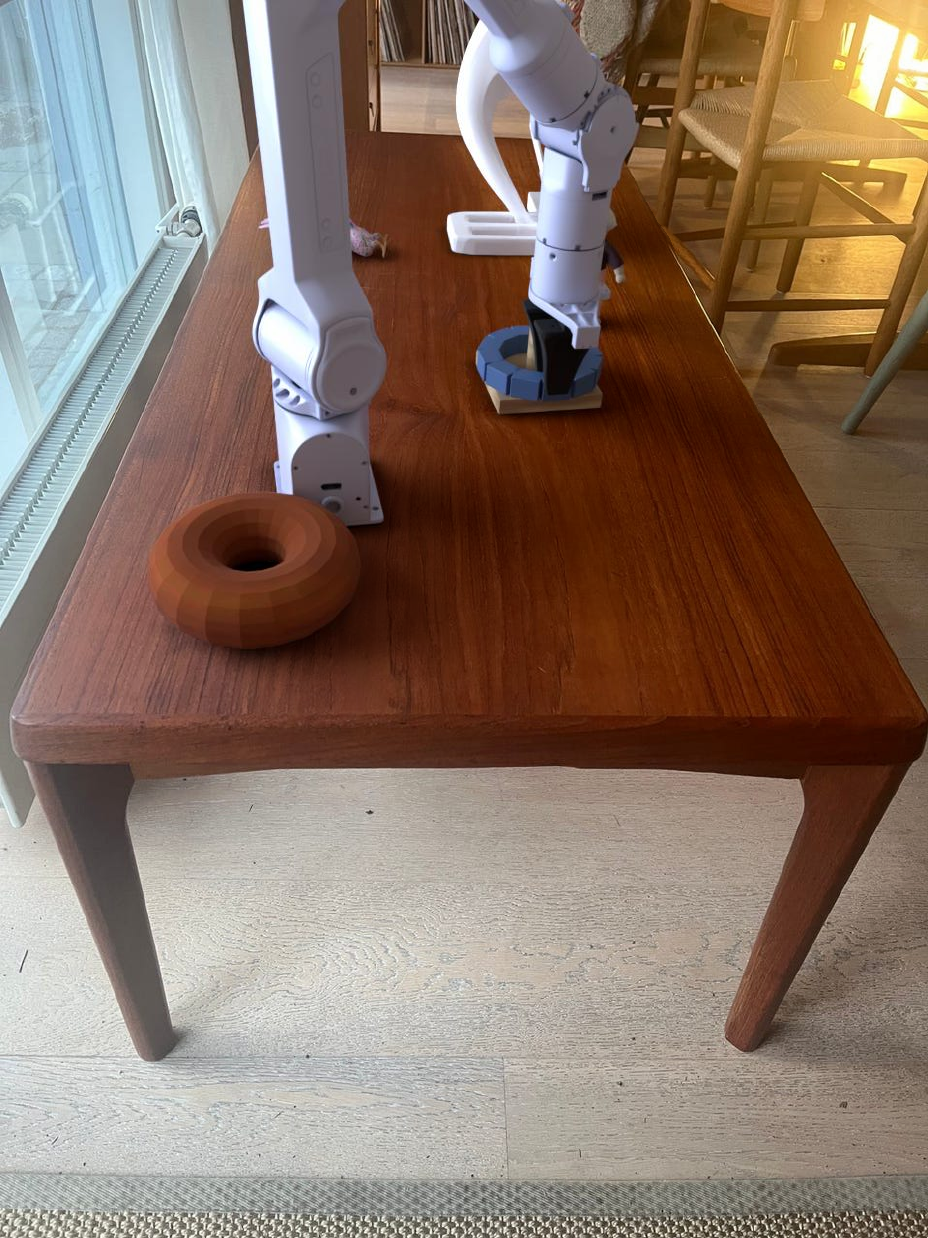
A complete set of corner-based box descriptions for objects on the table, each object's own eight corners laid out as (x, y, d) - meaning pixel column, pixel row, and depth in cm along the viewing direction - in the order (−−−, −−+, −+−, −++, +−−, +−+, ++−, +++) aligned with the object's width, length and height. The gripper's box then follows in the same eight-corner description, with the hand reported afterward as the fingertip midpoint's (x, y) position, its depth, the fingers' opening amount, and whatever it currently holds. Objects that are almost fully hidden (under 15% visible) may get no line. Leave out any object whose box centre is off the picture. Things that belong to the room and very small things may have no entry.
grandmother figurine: (545, 319, 106) (559, 199, 98) (559, 307, 109) (574, 189, 100) (611, 337, 104) (631, 216, 95) (624, 324, 106) (644, 204, 98)
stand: (600, 407, 92) (613, 328, 87) (498, 414, 91) (505, 333, 85) (570, 358, 100) (580, 282, 94) (475, 363, 98) (480, 286, 93)
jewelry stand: (581, 262, 118) (612, 26, 102) (454, 262, 117) (464, 22, 100) (547, 191, 137) (568, -18, 120) (436, 190, 135) (442, -23, 118)
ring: (615, 396, 91) (618, 377, 90) (495, 405, 89) (496, 385, 87) (577, 340, 100) (579, 321, 98) (466, 347, 97) (467, 328, 96)
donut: (390, 555, 74) (390, 500, 71) (313, 687, 64) (309, 631, 60) (213, 514, 77) (205, 460, 74) (110, 635, 66) (96, 578, 63)
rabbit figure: (384, 254, 121) (262, 229, 119) (392, 206, 117) (266, 179, 115) (382, 274, 116) (255, 249, 114) (390, 225, 112) (258, 197, 110)
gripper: (645, 271, 76) (619, 423, 86) (590, 205, 87) (571, 347, 96) (559, 274, 75) (541, 428, 84) (513, 207, 86) (502, 350, 95)
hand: (552, 385), depth 90 cm, fingers closed on ring, 2 cm apart
